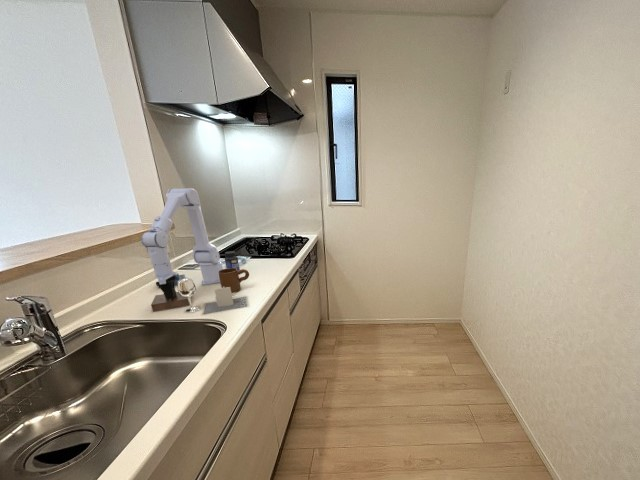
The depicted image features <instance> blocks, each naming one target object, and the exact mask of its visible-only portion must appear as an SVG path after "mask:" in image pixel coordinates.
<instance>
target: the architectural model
mask: <svg viewBox="0 0 640 480" xmlns="http://www.w3.org/2000/svg"><path fill="white" fill-rule="evenodd" d="M214 294H215V301H212V302H211V301H210V302H207V303H205V304H204V309H203V315H207V314H211V313H218V312H224V311H229V310H235V309H241V308H245V307H248V304H247V297H246V296H243V297H236V295H237V294H236V292H234V293H231V289H230V287H226V288H224V287H223V288H222V287H220V288H219V287H218V288H214ZM233 297H236V298H233Z"/></svg>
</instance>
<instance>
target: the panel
mask: <svg viewBox="0 0 640 480" xmlns="http://www.w3.org/2000/svg"><path fill="white" fill-rule="evenodd" d="M176 294H177V296H176V297H174V298H171V299H166V298H165V296H164V293H161V294H156V295H155V296H154V298H153V300H152V302H151V304H150V306H151V310H152V312H153V313H154V312H161V311H166V310H172V309H178V308H183V307H184V308H185V307H188V306H189V307H190V306H191V305H190V302H189V300H188V297H183V296H181V295H180V294H179V292H178V291H176ZM190 297H191V298H192V296H190Z"/></svg>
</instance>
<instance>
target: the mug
mask: <svg viewBox="0 0 640 480" xmlns="http://www.w3.org/2000/svg"><path fill="white" fill-rule="evenodd" d="M241 274H244V276H241V277H240V275H241ZM249 277H250V272H249V270H247V269H244V268H243V269H240V271H237V269H235V268H228V269H227V268H223V270H220V271H219V278H220V282H219V283H220V288H223V287H224V288H226V287H230V289H231V293H237V292H239V291H241V289H242V286H241V283H242V282H243V281H246V280H248V279H249Z"/></svg>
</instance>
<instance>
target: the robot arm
mask: <svg viewBox="0 0 640 480" xmlns="http://www.w3.org/2000/svg"><path fill="white" fill-rule="evenodd" d="M165 197H166V201H165V205H164V207H163V210H162V212H161V214H160V215H156V216H154V219H153V222H152V224H151V226H150V227H149V229H148V231H147V232H144V233H143V234H142V235H141V238H140V239H141V240H140V243H141V245H142V246H143V247H144V248H145V250H146V252H147V253H148V254H149V258H150V261H151V265H152V268H153V271H154V278H156V279H157V281H156V282H155V285H156V286H157V287H158V288H159V289H160V290H161V292H162V294H164V295H165V296H166V298H173V287H175V288H176V286H175V278H176V275H177V273H178V272H177V271H173V270H174V269H173V266H172V262H171V259H170V256H169V252H168V249H167V246H168V245H169V233H170V231H171V228H172V227H173V225H174V224H173V223H174V222H173V221H172V219H173V218H174V216H175V215H176V213H177V211H178V210H179V208H180V207H181V208H183V209H184V210H186V211H187V214H188V218H189V222H190V226H191V230H192V233H193V237H194V241H195V245H194V247H193V248H192V258H193V261H194V262H195V263H197V265H198V266H199V268H200V272H201V276H202V285H203V286H204V285H205V286H206V285H211V284H212V285H213V284H218V283H220V278H219V271H220V270H223V269H224V267H223V264H222V262H221V261H220V258H221V255H220V253H219V251H218V249H217V246H216V245H214V244H212V243H210V240H209V236H208V232H207V228H206V224H205V220H204V216H203V212H202V204H201V200H200V196H199V192H198V191H197V190H196V189H194V188H192V187H189V188H188V187H187V188H174V187H171V188H168V190H167V192H166V194H165Z"/></svg>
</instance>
